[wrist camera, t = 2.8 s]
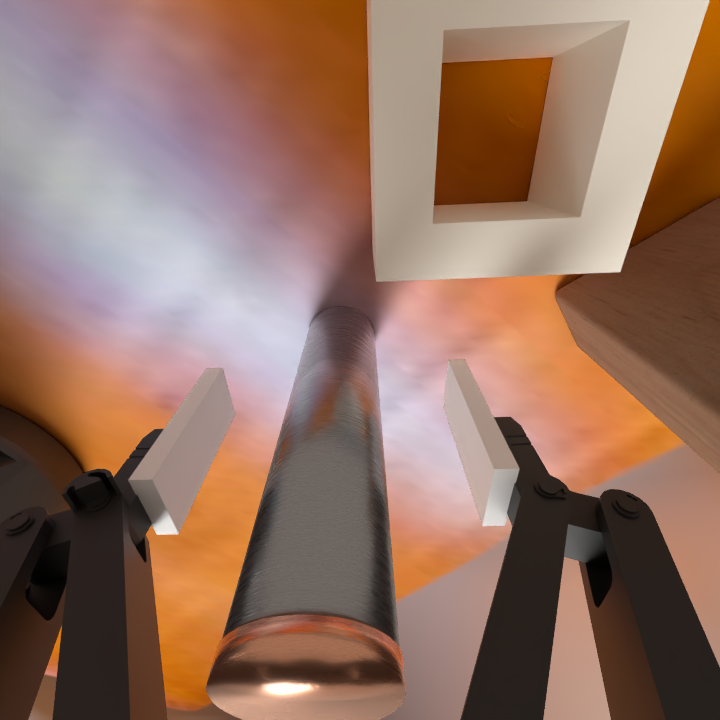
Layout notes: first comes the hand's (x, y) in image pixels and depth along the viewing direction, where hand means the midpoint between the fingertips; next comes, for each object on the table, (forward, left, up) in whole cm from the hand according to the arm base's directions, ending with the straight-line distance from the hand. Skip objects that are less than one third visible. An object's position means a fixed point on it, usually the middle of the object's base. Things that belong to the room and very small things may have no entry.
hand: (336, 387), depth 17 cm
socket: (+7, +10, -5) cm, 13 cm away
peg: (0, 0, -5) cm, 5 cm away
